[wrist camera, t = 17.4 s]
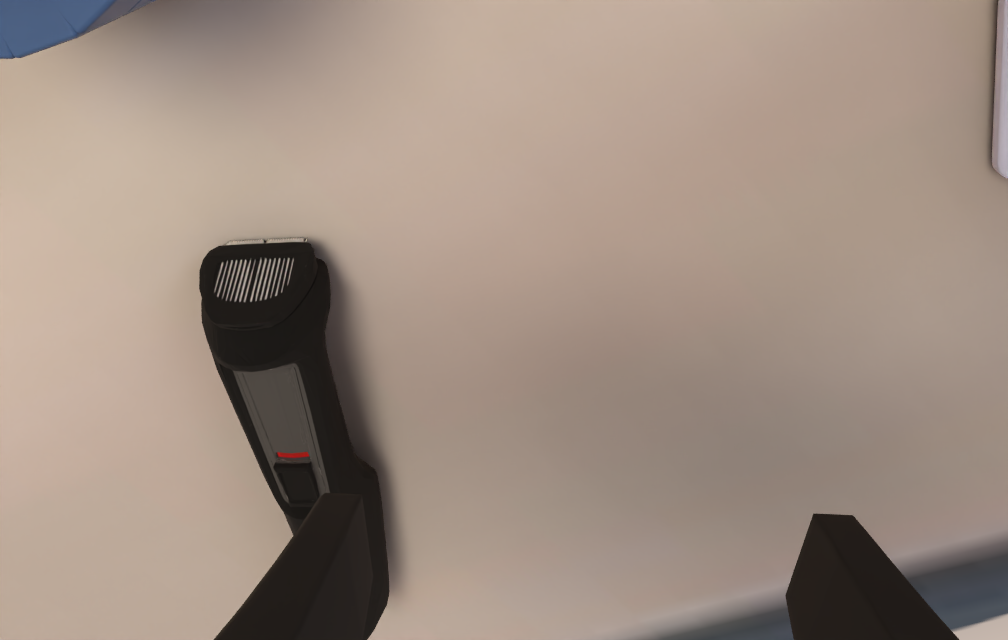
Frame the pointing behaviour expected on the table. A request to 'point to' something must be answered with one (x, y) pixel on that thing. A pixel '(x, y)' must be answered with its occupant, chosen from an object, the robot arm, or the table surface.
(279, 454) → the electric trimmer
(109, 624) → the table surface
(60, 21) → the blue cylindrical cup
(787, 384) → the table surface
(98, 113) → the table surface
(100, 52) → the table surface
